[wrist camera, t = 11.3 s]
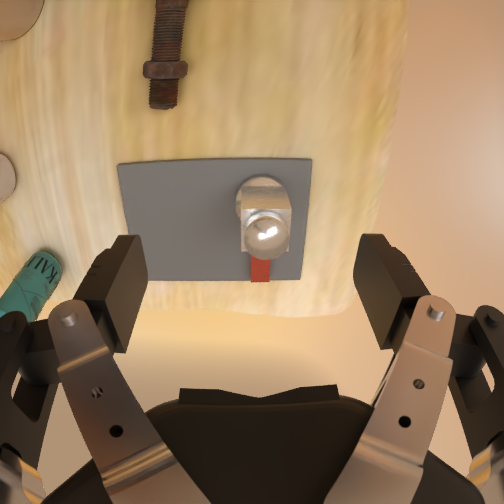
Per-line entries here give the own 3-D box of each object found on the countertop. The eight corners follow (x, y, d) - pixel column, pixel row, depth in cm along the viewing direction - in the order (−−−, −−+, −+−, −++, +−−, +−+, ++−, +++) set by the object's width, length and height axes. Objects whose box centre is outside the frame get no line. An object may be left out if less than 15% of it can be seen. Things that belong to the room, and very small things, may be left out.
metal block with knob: (241, 224, 39) (241, 262, 33) (241, 186, 36) (240, 218, 30) (282, 224, 39) (290, 262, 33) (284, 186, 37) (294, 218, 30)
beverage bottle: (44, 278, 47) (-8, 366, 30) (29, 246, 43) (-34, 332, 27) (72, 275, 47) (21, 371, 30) (57, 241, 43) (-7, 335, 26)
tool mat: (140, 277, 47) (139, 280, 46) (118, 163, 37) (116, 165, 36) (299, 276, 48) (300, 279, 47) (311, 158, 38) (312, 160, 37)
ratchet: (237, 275, 46) (236, 299, 42) (235, 173, 38) (234, 190, 34) (281, 274, 46) (285, 298, 42) (288, 174, 38) (294, 190, 34)
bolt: (163, 102, 35) (175, -12, 26) (196, 107, 33) (210, -16, 25) (128, 109, 31) (138, -19, 22) (160, 114, 29) (174, -26, 20)
